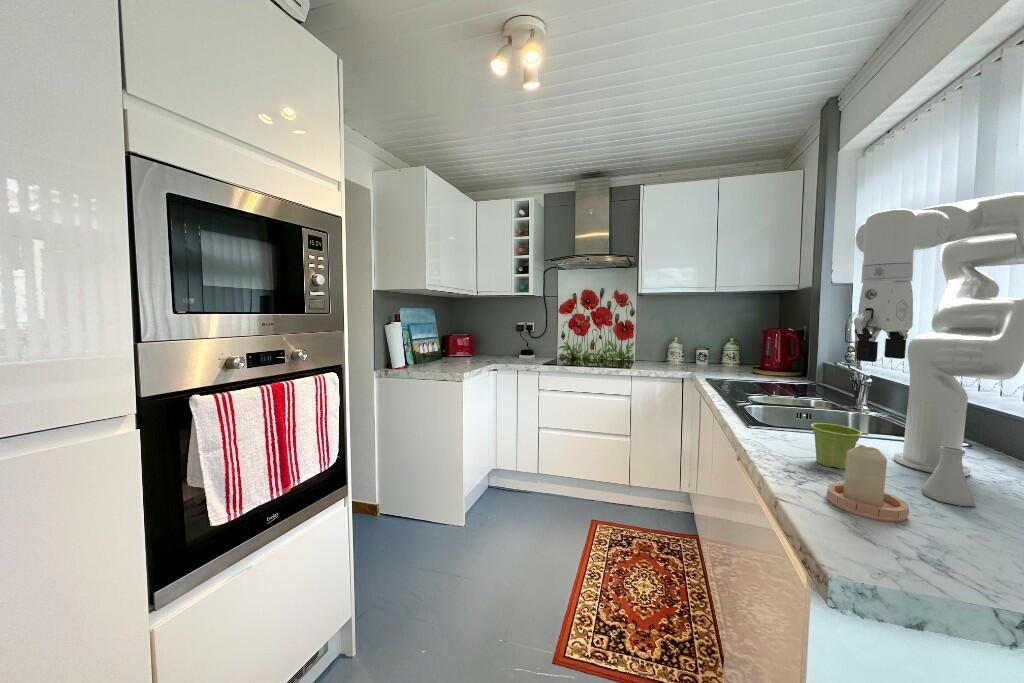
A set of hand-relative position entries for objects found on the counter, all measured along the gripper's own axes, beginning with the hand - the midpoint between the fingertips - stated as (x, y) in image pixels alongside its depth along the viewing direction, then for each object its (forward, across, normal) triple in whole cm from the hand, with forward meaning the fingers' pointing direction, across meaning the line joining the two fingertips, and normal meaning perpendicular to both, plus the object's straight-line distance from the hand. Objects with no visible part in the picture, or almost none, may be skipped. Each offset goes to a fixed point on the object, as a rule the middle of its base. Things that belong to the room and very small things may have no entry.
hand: (880, 359), depth 82 cm
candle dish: (+26, -14, -6) cm, 30 cm away
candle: (+25, -14, -5) cm, 29 cm away
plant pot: (+27, +4, +10) cm, 29 cm away
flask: (+27, +6, -9) cm, 29 cm away
